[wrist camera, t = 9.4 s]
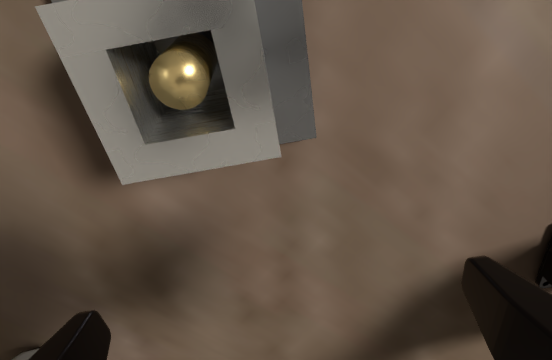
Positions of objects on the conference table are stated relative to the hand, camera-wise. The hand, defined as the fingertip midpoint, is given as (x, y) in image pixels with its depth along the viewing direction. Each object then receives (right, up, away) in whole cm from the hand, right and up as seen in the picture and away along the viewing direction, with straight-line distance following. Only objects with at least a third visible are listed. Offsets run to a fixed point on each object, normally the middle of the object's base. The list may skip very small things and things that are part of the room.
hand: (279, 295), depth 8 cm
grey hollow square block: (-4, +8, +7) cm, 11 cm away
